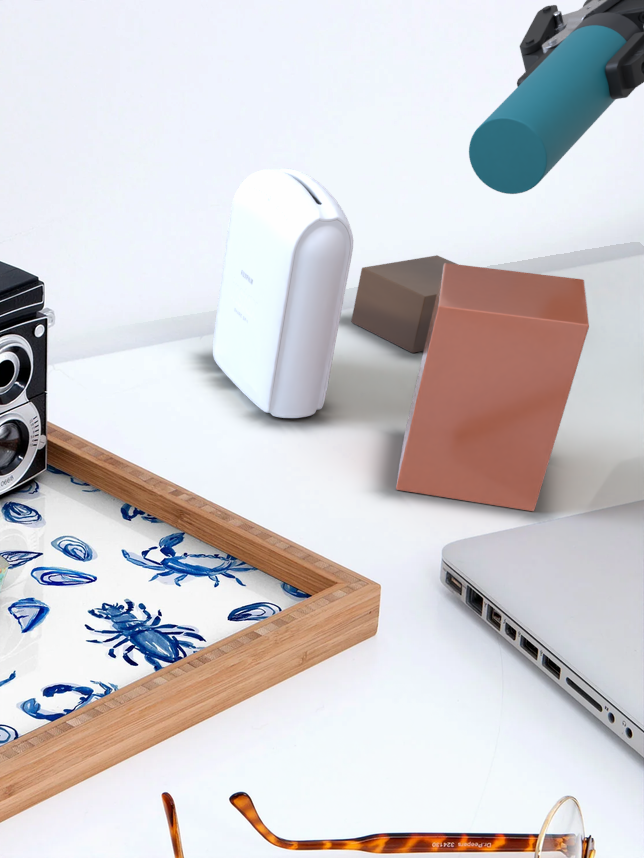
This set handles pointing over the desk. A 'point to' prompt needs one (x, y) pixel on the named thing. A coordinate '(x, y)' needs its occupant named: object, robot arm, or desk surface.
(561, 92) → the bottle
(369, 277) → the block
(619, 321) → the desk surface
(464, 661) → the desk surface
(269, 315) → the photo printer
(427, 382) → the plinth
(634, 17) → the robot arm
